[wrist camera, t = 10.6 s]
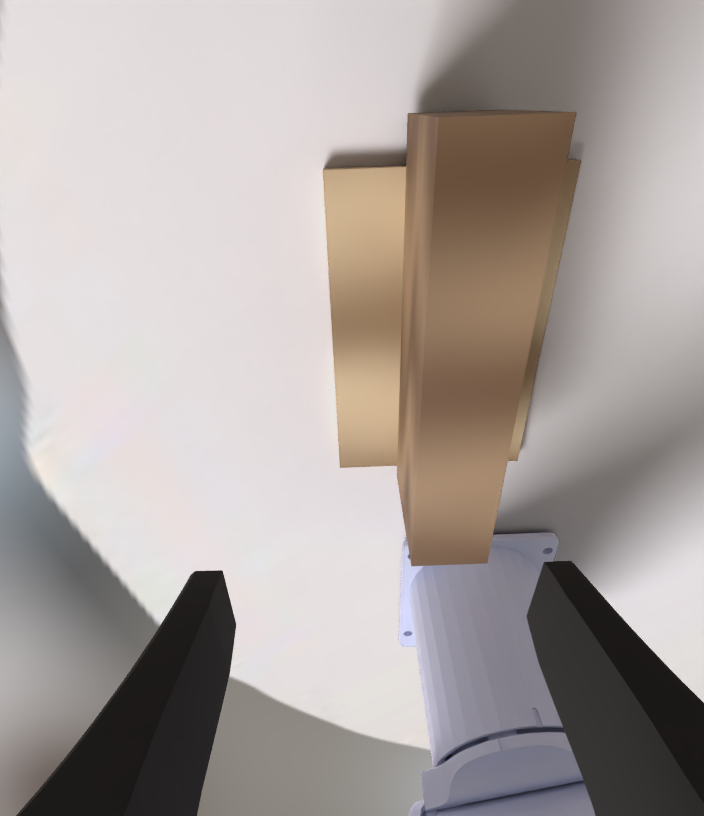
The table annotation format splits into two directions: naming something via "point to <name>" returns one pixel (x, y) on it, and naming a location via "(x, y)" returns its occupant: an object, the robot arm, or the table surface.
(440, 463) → the brown wooden block
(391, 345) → the mat
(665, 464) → the table surface
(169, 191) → the table surface
